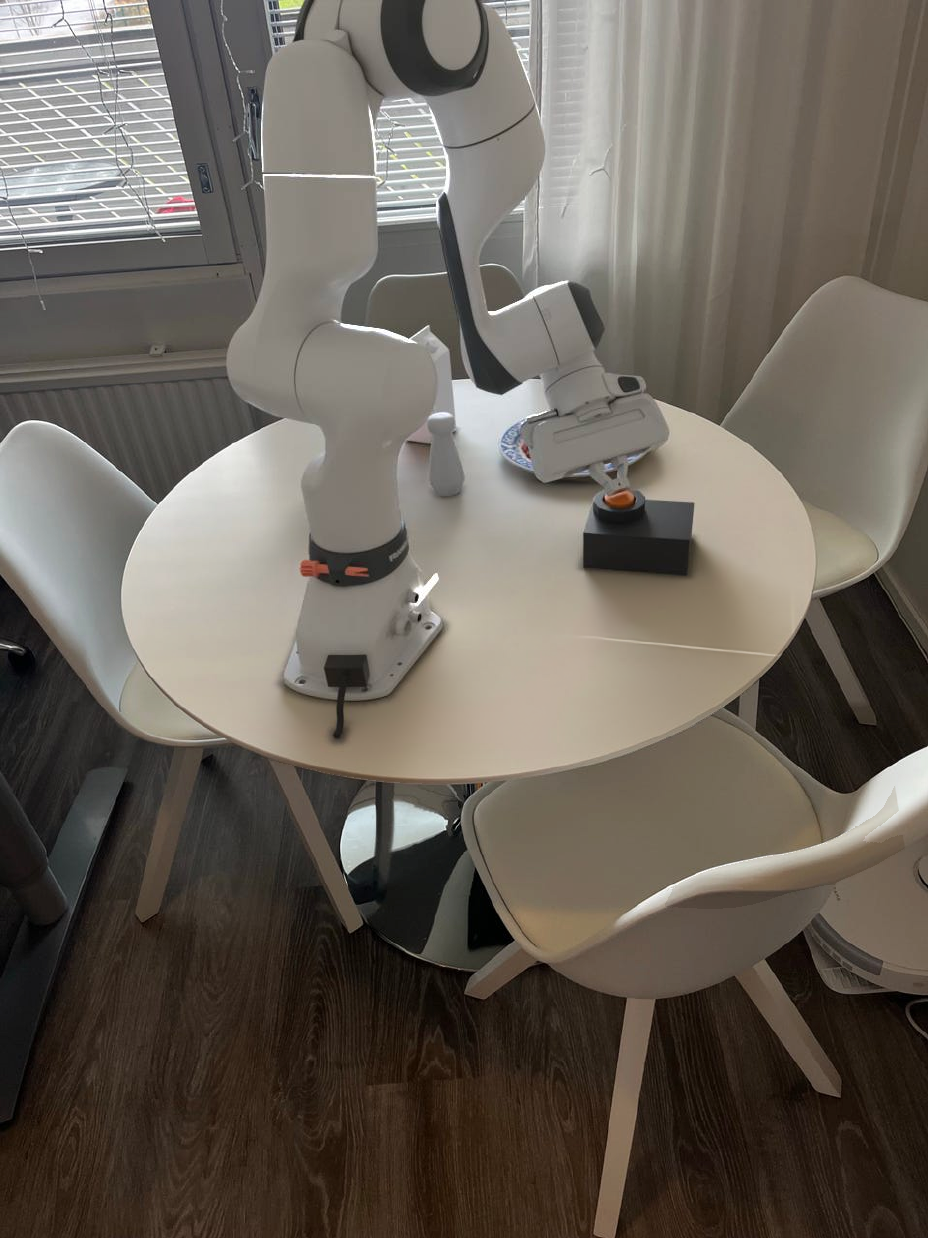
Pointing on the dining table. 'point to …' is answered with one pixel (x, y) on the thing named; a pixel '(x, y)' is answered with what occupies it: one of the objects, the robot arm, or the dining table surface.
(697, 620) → the dining table surface
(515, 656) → the dining table surface
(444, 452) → the salt shaker
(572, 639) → the dining table surface
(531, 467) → the ceramic plate
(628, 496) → the orange push button
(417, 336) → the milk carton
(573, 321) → the robot arm
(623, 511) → the button base
